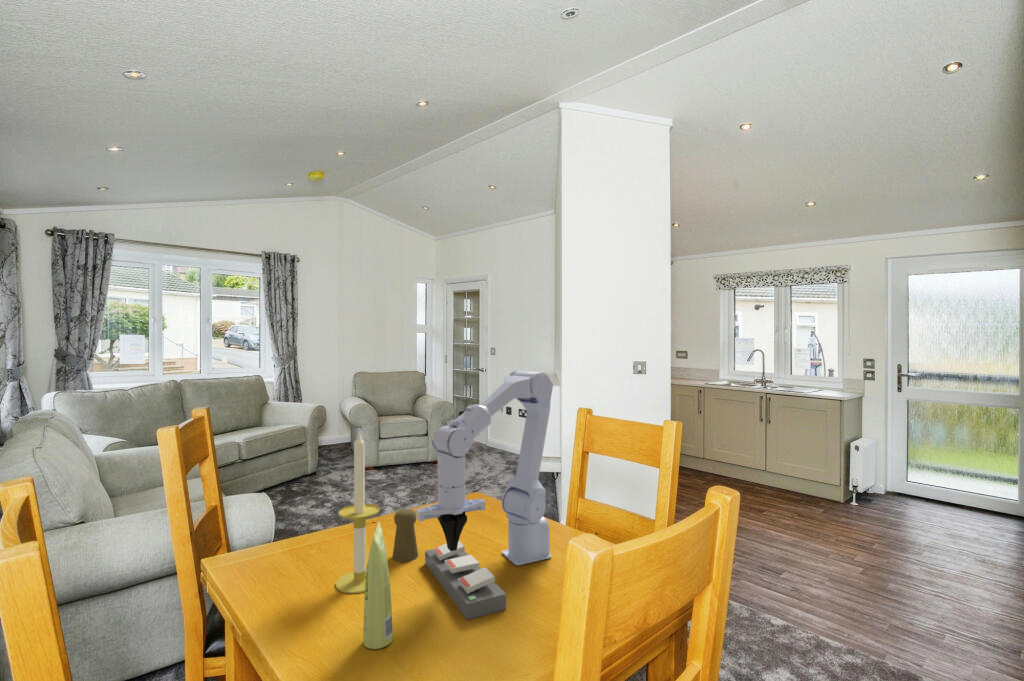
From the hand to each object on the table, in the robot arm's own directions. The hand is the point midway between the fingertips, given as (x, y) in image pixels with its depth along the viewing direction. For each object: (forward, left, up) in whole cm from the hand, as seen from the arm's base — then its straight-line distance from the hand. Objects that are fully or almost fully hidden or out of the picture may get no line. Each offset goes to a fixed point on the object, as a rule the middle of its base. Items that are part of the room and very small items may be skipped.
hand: (452, 548), depth 106 cm
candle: (+17, -11, -8) cm, 22 cm away
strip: (-2, 0, -8) cm, 8 cm away
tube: (+18, +12, -8) cm, 23 cm away
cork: (+5, -19, -8) cm, 21 cm away
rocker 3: (-2, +8, -4) cm, 9 cm away
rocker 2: (-2, 0, -4) cm, 4 cm away
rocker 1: (-2, -8, -4) cm, 9 cm away
